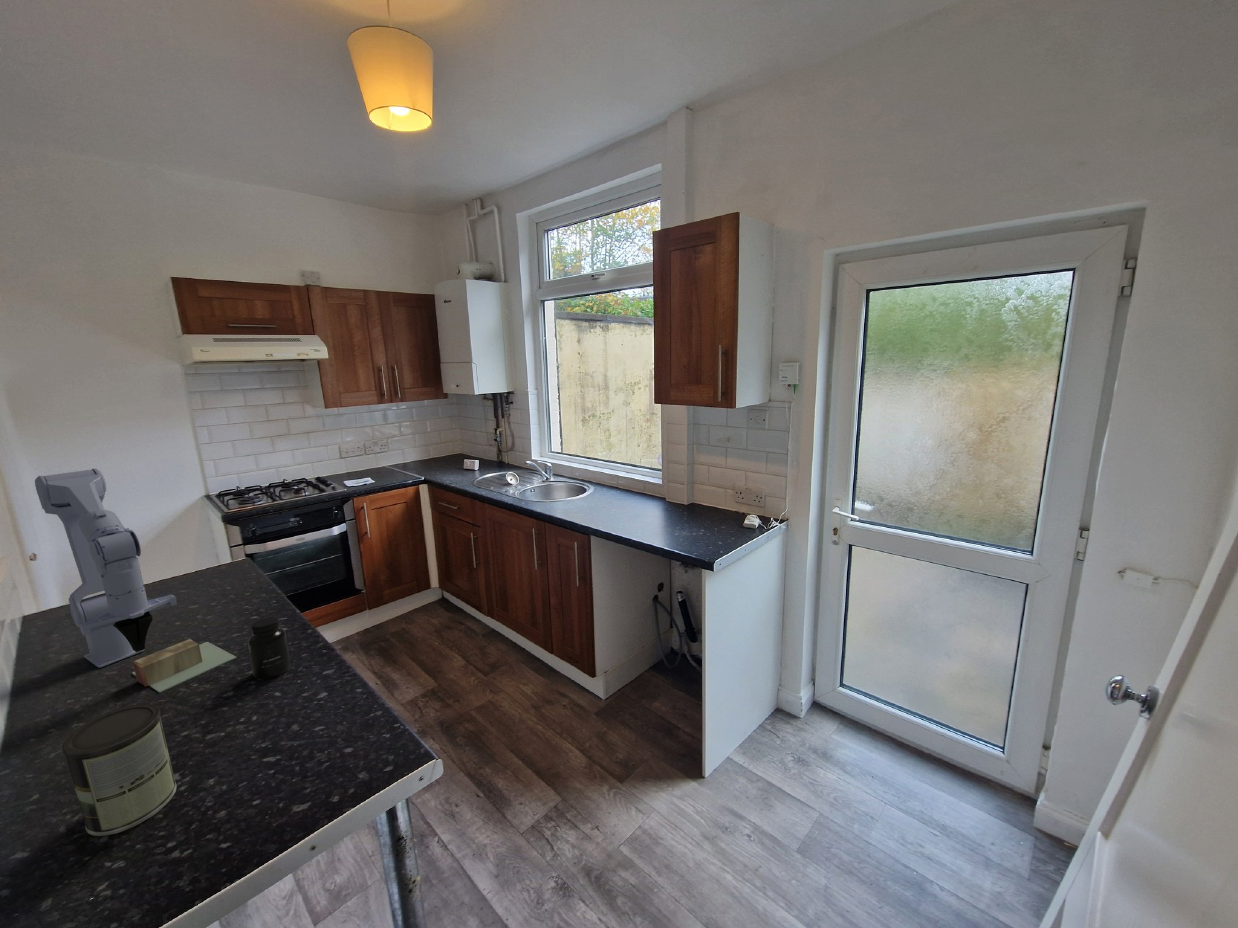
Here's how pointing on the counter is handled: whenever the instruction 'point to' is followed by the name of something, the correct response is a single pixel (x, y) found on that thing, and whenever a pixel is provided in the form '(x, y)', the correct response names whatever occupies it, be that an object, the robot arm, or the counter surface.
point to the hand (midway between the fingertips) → (138, 649)
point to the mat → (196, 667)
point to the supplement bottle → (268, 649)
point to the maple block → (167, 662)
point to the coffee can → (120, 768)
